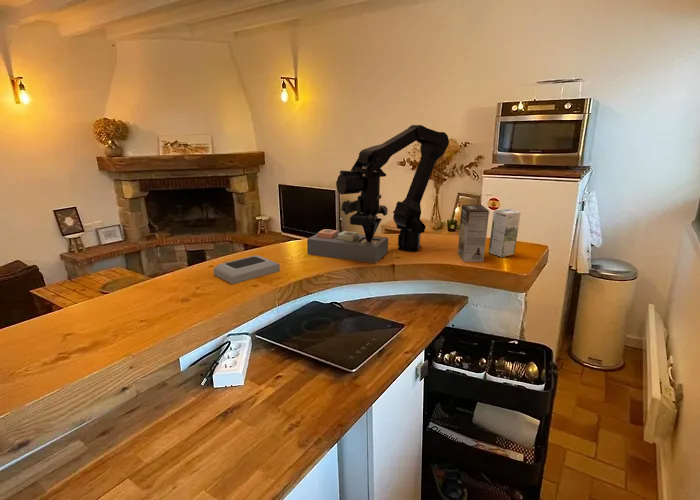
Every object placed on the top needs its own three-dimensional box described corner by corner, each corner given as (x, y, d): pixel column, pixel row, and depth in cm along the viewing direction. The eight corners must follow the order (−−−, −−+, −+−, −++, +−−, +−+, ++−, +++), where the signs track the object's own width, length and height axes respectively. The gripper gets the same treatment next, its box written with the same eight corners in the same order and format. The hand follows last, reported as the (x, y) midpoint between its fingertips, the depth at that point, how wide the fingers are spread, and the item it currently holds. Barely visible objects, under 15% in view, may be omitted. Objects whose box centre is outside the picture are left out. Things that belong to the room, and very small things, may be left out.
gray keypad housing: (387, 252, 136) (388, 237, 135) (376, 263, 125) (376, 247, 124) (323, 244, 144) (323, 230, 143) (307, 254, 134) (307, 239, 132)
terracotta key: (338, 239, 138) (338, 230, 137) (332, 243, 133) (332, 233, 132) (324, 237, 139) (324, 228, 138) (317, 241, 135) (317, 232, 134)
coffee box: (456, 253, 136) (461, 204, 132) (476, 253, 136) (481, 204, 131) (463, 262, 127) (468, 210, 123) (484, 262, 127) (490, 210, 123)
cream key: (378, 250, 133) (378, 240, 132) (373, 254, 129) (373, 244, 128) (363, 248, 135) (364, 238, 134) (358, 252, 131) (358, 242, 130)
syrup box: (501, 251, 139) (506, 207, 134) (515, 256, 133) (520, 211, 129) (488, 253, 136) (492, 209, 132) (501, 258, 131) (507, 212, 127)
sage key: (358, 241, 135) (358, 232, 134) (352, 245, 131) (352, 235, 130) (343, 240, 137) (343, 230, 136) (337, 243, 132) (337, 234, 132)
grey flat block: (279, 259, 117) (231, 272, 107) (279, 272, 118) (232, 286, 108) (260, 252, 124) (213, 263, 114) (260, 264, 125) (214, 276, 115)
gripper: (356, 186, 138) (355, 232, 142) (333, 194, 121) (333, 246, 126) (388, 188, 134) (387, 235, 138) (369, 197, 117) (368, 250, 122)
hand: (369, 241), depth 131 cm, fingers closed, pressing on cream key
